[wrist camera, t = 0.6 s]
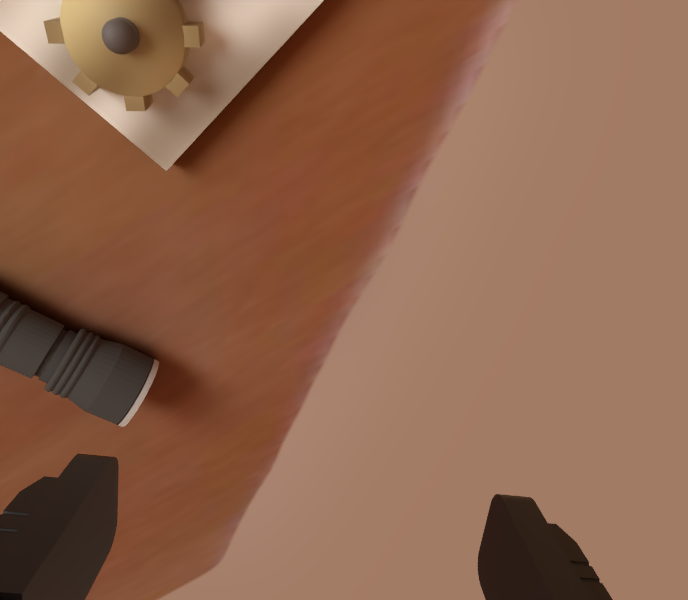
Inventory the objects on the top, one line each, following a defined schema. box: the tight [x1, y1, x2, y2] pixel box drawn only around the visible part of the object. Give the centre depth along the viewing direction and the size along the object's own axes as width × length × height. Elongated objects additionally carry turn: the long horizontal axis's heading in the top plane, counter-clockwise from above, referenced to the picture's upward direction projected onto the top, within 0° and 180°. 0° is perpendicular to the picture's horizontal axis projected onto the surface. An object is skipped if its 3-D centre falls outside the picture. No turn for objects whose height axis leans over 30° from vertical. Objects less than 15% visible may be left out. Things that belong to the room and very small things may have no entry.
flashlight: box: [0, 292, 159, 427], centre depth 38 cm, size 15×5×5 cm, turn 52°
